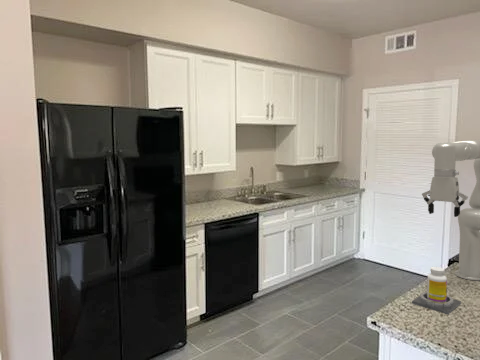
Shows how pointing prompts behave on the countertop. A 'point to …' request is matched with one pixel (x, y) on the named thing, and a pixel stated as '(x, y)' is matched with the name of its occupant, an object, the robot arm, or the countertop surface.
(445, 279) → the supplement bottle
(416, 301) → the ring plate
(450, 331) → the countertop surface
